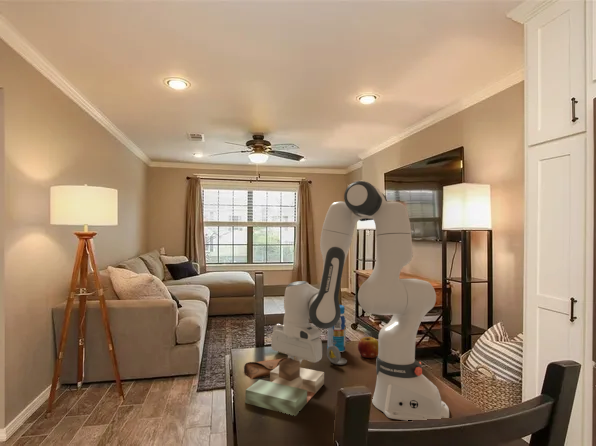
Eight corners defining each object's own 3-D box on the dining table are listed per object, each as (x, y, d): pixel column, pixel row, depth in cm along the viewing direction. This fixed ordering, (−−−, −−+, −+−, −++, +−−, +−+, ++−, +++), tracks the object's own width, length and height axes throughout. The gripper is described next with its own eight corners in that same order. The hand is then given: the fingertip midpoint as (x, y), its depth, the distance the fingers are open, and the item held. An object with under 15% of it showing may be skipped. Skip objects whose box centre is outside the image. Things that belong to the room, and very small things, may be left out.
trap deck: (323, 383, 121) (324, 372, 121) (295, 416, 99) (295, 402, 99) (280, 374, 128) (281, 363, 128) (245, 402, 106) (245, 389, 106)
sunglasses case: (250, 380, 123) (247, 360, 126) (245, 383, 128) (243, 364, 131) (296, 372, 130) (292, 354, 133) (289, 376, 136) (286, 358, 139)
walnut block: (299, 376, 117) (299, 361, 117) (290, 381, 113) (290, 365, 113) (288, 372, 120) (288, 358, 120) (278, 377, 116) (279, 362, 117)
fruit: (353, 356, 149) (353, 337, 149) (364, 351, 156) (364, 333, 156) (373, 362, 143) (373, 342, 143) (383, 356, 150) (384, 338, 150)
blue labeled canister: (323, 350, 156) (324, 305, 156) (333, 345, 162) (334, 303, 163) (338, 354, 150) (339, 308, 151) (349, 350, 157) (350, 305, 157)
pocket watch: (347, 360, 144) (347, 336, 144) (346, 368, 136) (346, 342, 136) (327, 358, 146) (328, 334, 146) (325, 366, 137) (326, 340, 138)
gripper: (267, 324, 124) (266, 363, 124) (314, 336, 111) (313, 379, 111) (279, 321, 129) (278, 358, 129) (325, 332, 116) (324, 373, 116)
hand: (295, 368), depth 120 cm, fingers closed
